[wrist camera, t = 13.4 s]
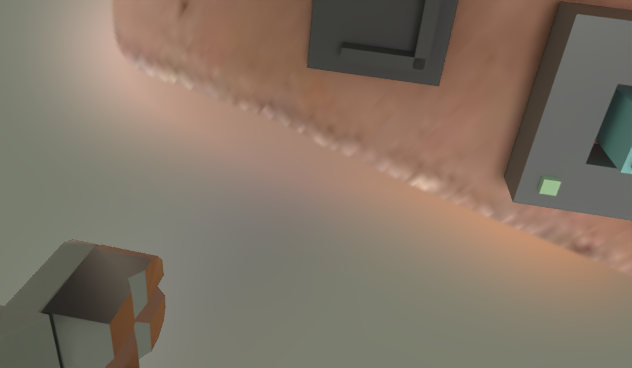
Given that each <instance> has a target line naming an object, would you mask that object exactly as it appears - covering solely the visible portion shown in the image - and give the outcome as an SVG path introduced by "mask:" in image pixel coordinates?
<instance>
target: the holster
mask: <svg viewBox="0 0 632 368" xmlns="http://www.w3.org/2000/svg"><path fill="white" fill-rule="evenodd" d="M457 4H458V0H313V11H312V22H311V33H310V43H309V54H308V65H307V68H313V69H320V70H327V71H335V72H342V73H349V74H356V75H363V76H370V77H377V78H384V79H391V80H399V81H406V82H413V83H420V84H427V85H434V86H439V84H440V79H441V75H442V71H443V66H444V62H445V57H446V53H447V48H448V44H449V40H450V35H451V31H452V26H453V22H454V17H455V13H456V9H457Z"/></svg>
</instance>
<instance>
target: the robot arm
mask: <svg viewBox="0 0 632 368" xmlns="http://www.w3.org/2000/svg"><path fill="white" fill-rule="evenodd" d="M163 276H164V273H163V263H162V259H161V258H159V257H158V256H155V255H150V254H145V253H140V252H135V251H130V250H125V249H120V248H116V247H110V246H106V245H97V244H93V243H88V242H83V241H78V240H73V239H72V240H69V241H67V242H65V243H63V244H62V245H61V246H60V247H59V248H58V249H57V250H56V251H55V252H54V253H53V255H52V256H51V257H50V258H49V259H48V260H47V261H46V262H45V263H44V264H43V265H42V266H41V267H40V269H39V270H38V271H37V272H36V273H35V274H34V275H33V276H32V277H31V278H30V279H29V281H28V282H27V283H26V284H25V285H24V286H23V287H22V288H21V289H20V290H19V291H18V292H17V294H15V296H14V297H13V298H12V299H11V300H10V301H9V302H8V303H7V304H6V305H5V306H1V305H0V368H139V358H141V357H143V356H144V355H146V354H147V353H149V352H151V351H152V349H153V347H154V345H155V343H156V341H157V339H158V337H159V334H160V331H161V328H162V324H163V321H164V315H165V295H164V294H163V292H162V291H161V290H160V289H159V288H158V284H159V283H160V281H161V279H162V277H163Z"/></svg>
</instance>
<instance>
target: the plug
mask: <svg viewBox="0 0 632 368" xmlns="http://www.w3.org/2000/svg"><path fill="white" fill-rule="evenodd" d="M596 141H597V142H598V143H599V145H600V146H601V147H602V149H603V150H604V151H605V153H606V154H607V155H608V157H609V158H610V159H611V161H612V162H613V163H614V165H615V166H616V167H617V169H618V170H619V171H620V172H621V173H628V174H632V86H629V85H622V84H618V85H617V87H616V90H615V92H614V95H613V97H612V100H611V102H610V105H609V107H608V110H607V112H606V115H605V117H604V120H603V122H602V125H601V127H600V129H599V132H598V134H597V137H596Z"/></svg>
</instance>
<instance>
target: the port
mask: <svg viewBox="0 0 632 368" xmlns="http://www.w3.org/2000/svg"><path fill="white" fill-rule="evenodd" d="M618 84H622V85H629V86H632V11H631V10H624V9H616V8H608V7H600V6H592V5H584V4H577V3H569V2H561V1H560V4H559V7H558V10H557V14H556V17H555V20H554V23H553V26H552V29H551V32H550V35H549V39H548V42H547V45H546V48H545V51H544V54H543V57H542V60H541V64H540V67H539V70H538V73H537V76H536V79H535V82H534V85H533V88H532V92H531V95H530V98H529V101H528V104H527V107H526V110H525V113H524V117H523V120H522V123H521V126H520V129H519V132H518V135H517V138H516V142H515V145H514V148H513V151H512V154H511V157H510V160H509V163H508V167H507V170H506V173H505V176H504V178H505V181H506V184H507V186H508V189H509V192H510V195H511V198H512V201H513V202H515V203H521V204H528V205H534V206H541V207H547V208H554V209H560V210H567V211H573V212H580V213H586V214H593V215H599V216H606V217H612V218H618V219H625V220H631V221H632V174H628V173H621V172H620V171H619V170H618V169H617V167H616V166H615V165H614V163H613V162H612V161H611V159H610V158H609V157H608V155H607V154H606V153H605V151H604V150H603V149H602V147H601V146H600V145H598V144H594V142H595V139H596V137H597V134H598V132H599V129H600V127H601V125H602V122H603V120H604V117H605V115H606V112H607V110H608V107H609V105H610V102H611V100H612V97H613V95H614V92H615V90H616V87H617V85H618Z"/></svg>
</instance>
